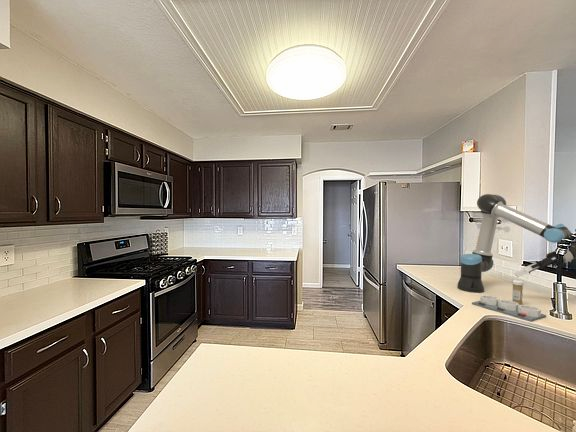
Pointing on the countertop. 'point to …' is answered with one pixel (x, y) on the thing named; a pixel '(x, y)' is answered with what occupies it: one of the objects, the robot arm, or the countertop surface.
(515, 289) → the sprinkles bottle
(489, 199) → the robot arm
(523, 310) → the breaker board
